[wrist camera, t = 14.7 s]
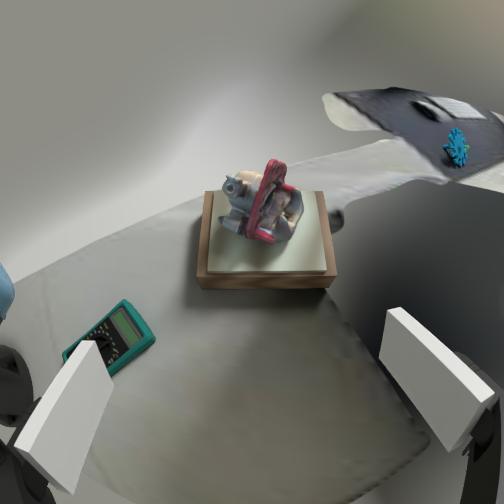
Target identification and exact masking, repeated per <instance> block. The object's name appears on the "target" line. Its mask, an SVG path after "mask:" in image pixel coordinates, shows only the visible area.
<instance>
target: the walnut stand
mask: <svg viewBox="0 0 504 504" xmlns="http://www.w3.org/2000/svg"><path fill="white" fill-rule="evenodd" d="M301 194H302V200H303V204H304V212H303V214H302V216H301V218H300V220H299V222H298V223H297V226H296V228H295V232H294V234H293V236H292V238H291V239H290V240H289V241H283V242H278V243H276V242H275V244H273V245H272V244H268V243H266V242H264V241H261V240H258V239H247V238H245V237H243V236H241V235H238V234H236V233H234V232H232V231H231V230H229V229H227V228H225V227H224V226H223V225H222V224H221V223H220V222H219V221H218V217H219V216H229V215H230V212H231V209H232V206H231V204H230V203H229V199H228V196H227V195H226V194H225V193H224V192H223V191H205V197H204V205H203V214H202V222H201V231H200V241H199V251H198V261H197V273H196V277H197V279H198V282H199V284H200V286H201V288H202V289H298V288H329V287H330V285H331V283H332V282H333V281H334V279H335V278H336V276H337V271H336V265H335V258H334V251H333V245H332V239H331V233H330V227H329V221H328V216H327V210H326V205H325V200H324V195H323V191H301Z"/></svg>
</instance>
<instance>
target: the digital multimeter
mask: <svg viewBox="0 0 504 504" xmlns="http://www.w3.org/2000/svg"><path fill="white" fill-rule="evenodd" d="M82 340H84V341H95V342H96V344H97V347H98V350H99V352H100V355H101V357H102V359H103V362H104V364H105V367H106V369H107V371H108V373H109V376H110V377H111V376H112V375H113V374H114V373H115V372H116V371H118V370H119V369H120V368H121V367H123V366H124V365H125V364H126V363H128V362H129V361H130V360H131V359H132V358H134V357H135V356H136V355H138V354H139V353H140V352H142V351H143V350H144V349H146V348H147V347H148V346H150V345H151V344H152V343H154V342H155V336H154V335H153V333H152V332H151V330H150V328H149V327H148V325H147V324H146V322H145V321H144V320H143V318H142V317H141V315H140V314H139V313H138V312H137V310H136V309H135V308H134V307H133V306H132V304H130V303H129V302H128V301H127V300H125V299H123V300H122V301H121V302H120V303H119V304H118V305H116V306H115V307H114V308H113V309H112V310H111V311H110V312H109V313H108V314H107V315H106V316H105V317H104V318H103V319H102V320H101V321H99V322H98V323H97V324H96V325H95V326H94V327H93V328H92V329H91V330H89V331H88V332H87V333H86V334H85V335H84V336H82V337H81V338H80V339H79V340H78V341H76V342H75V343H74V344H73V345H72V346H70V347H69V348H68V349H67V350H65V351H64V352H63V353H62V357H63V360H64V364H65V363H66V362H67V360H68V359H69V357H70V356H71V355H72V353H73V352H74V350H75V349H76V348H77V346H78V345H79V344H80V342H81V341H82ZM123 354H124V355H123ZM110 365H111V366H110Z"/></svg>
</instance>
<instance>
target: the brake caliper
mask: <svg viewBox="0 0 504 504" xmlns="http://www.w3.org/2000/svg"><path fill="white" fill-rule="evenodd" d="M286 172H287V166H286V165H285V163H283V162H279V161H278V160H276V159H271V160H270V161H269V162H268V164H267V166H266V169H265V172H264V174H261V173H258V172H253V171H245V170H244V171H241V172H239V173H238V174H237V175H236V176H232V175H227V176H226V177H227V180H226V182H224V184H223V187H222V190H223V192H224V193H225V194H226V195H227V196H228V199H229V203H230V204H231V206H232V209H231V212H230V215H229V216H219V217H218V221H219V222H220V223H221V224H222V225H223V226H224V227H225V228H227V229H229V230H231V231H232V232H234V233H236V234H238V235H241V236H243V237H245V238H247V239H258V240H261V241H264V242H266V243H268V244H272V245H273V244H275V242H276V243H278V242H283V241H289V240H290V239H291V238H292V236H293V234H294V232H295V228H296V226H297V223H298V222H299V220H300V218H301V216H302V214H303V212H304V204H303V200H302V194H301V191H300V189H298V188H296V187H293V186H290V185H287V184H285V182H284V178H285V175H286Z"/></svg>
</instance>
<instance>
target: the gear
mask: <svg viewBox="0 0 504 504" xmlns="http://www.w3.org/2000/svg"><path fill="white" fill-rule="evenodd" d="M450 132H451V134H449V136H448V138H449V139H450V141H451V143H448V145H444V149H452V150H453V152H450V156H451V157H454V156H456V158H455V159H453V161H454V163H455V164H458V166H462V164H465V159H467V154H466V153H465V152H466V151H467V149H469V145H464V144H463V142H466V139H465V138H462V139H461V136H463V133H462V131H459V129H458V128H454V129H453V130H450ZM458 160H459V161H458Z"/></svg>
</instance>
